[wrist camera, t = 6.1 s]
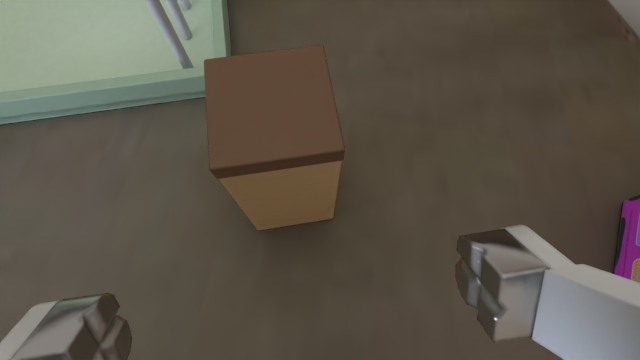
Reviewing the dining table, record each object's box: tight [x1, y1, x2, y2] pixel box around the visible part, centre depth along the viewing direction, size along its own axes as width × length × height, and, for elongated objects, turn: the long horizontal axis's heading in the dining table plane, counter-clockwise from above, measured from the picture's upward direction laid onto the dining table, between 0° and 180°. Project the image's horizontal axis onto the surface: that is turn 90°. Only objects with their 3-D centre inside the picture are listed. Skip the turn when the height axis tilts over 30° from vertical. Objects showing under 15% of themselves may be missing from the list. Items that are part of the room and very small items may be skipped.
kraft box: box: [204, 45, 345, 230], centre depth 18 cm, size 5×5×10 cm
